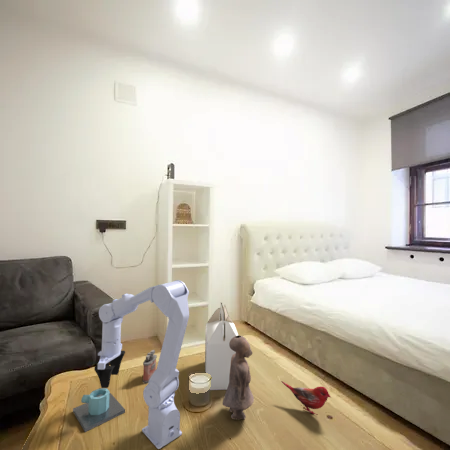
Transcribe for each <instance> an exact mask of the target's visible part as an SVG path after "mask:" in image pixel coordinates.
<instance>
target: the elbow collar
mask: <svg viewBox="0 0 450 450" xmlns="http://www.w3.org/2000/svg"><path fill="white" fill-rule="evenodd" d="M110 393H111V392H110V390H109V389H108V388H101V387H100V388H97V389H95V390H92V391H91V392H90V394H83V395H82V397H81V403H82V404H85V403H89V407H88V411H89V413H90V414H91V415H100V414H102V413H104V412H106V411H107V409H108V408H109V396H110ZM99 394H103V396H101V397H96V396H97V395H99Z"/></svg>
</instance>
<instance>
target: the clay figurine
mask: <svg viewBox="0 0 450 450" xmlns="http://www.w3.org/2000/svg"><path fill="white" fill-rule="evenodd" d="M229 346H230V348H231V349H232V350H233V351H235V352H236V353H235V354H233V355H232V358H231V366H230V375H229V384H228V388H227V390H225V394H224V397H223V400H222V405H223V406H224V407H225V408H229V409H228V411H229V412H230V413H231V416H230V417H231V419H232V420H234V421H235V420H245V419H246V418H247V417H246V414H245V412H244V411H245V410H247V409H249V408H250V407H251V406H252V405H253V403H254V402H255V399H254V398H255V397H254V394H253V392H252V390H251V388H250V385H249V384H250V383H251V380H252V377H251V376H252V375H251V372H250V366H249V363H248V361H247V359H248V358H250V356H253V351H252V348H251V344H250V343H249V341H248V340H247V339H246V338H245V337H244V336H243V335H239V334H238V336H235V337H233V338H232V339H231V340H230V343H229ZM246 358H247V359H246Z"/></svg>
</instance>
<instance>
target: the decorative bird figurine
mask: <svg viewBox="0 0 450 450" xmlns="http://www.w3.org/2000/svg"><path fill="white" fill-rule="evenodd" d="M280 382H281V383H282V385H284V386H285V387H286V388H287V389H289V390H290V392H291V393H292V394H293V396H294V397H295V398H296V399H297V400H298V401H299V402H300V403H301V404H302V405H303V406H304V407H303V408H302V409H303V410H305V411H307V412H309V414H312V415H316V416H319V414H318V413H315V411H312V410H318V409H321V408H322V407H323V406H324V405H325V403H326V402H327V401H328V398H332V397H331V395H330V393H329V391H328V389H327V388H326V387H324V386H317V387H314V388H308V387H293V386H292V385H289V384H288V383H286V382H284V381H282V380H281V381H280ZM311 409H312V410H311Z"/></svg>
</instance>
